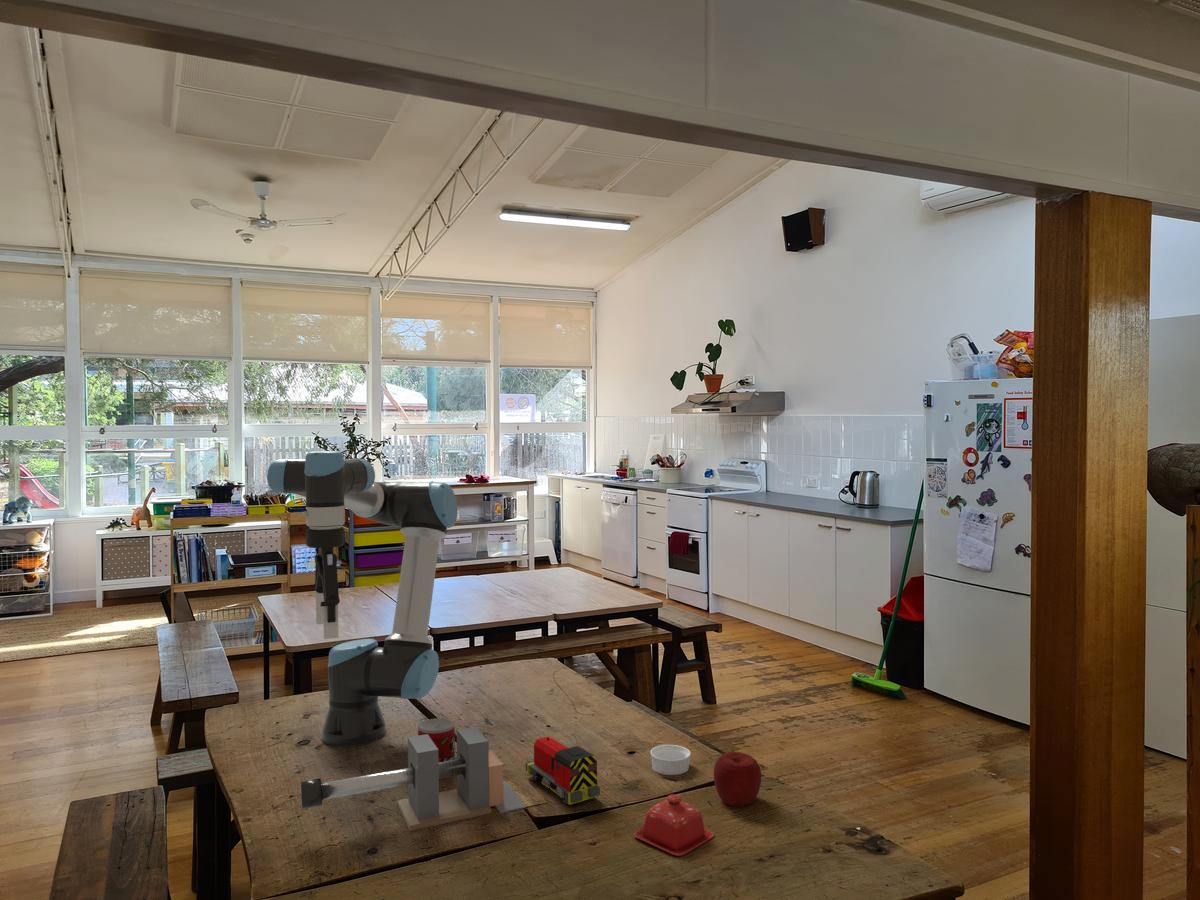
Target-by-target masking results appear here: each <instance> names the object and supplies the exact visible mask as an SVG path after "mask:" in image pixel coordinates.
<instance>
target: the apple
mask: <svg viewBox="0 0 1200 900" xmlns="http://www.w3.org/2000/svg"><path fill="white" fill-rule="evenodd" d="M713 782H714V786H715V790H716V792H717V794H718V796H719V799H721V801H722V803H723V804H725V805H727V806H731V807H739V808H741V807H745V806H749V805H751V804H752V803H753V802H754V801H755V800H756V798H757V797H758V795H759V791H760V788H761V785H762V769H761V766H760V764H759V763H758V761H757V760H756V759H755V758H754V757H752V756H751V755H749V754H747V753H744V752H739V751H728V752H727V751H726V752H724V753H722V754H721V755H720V756H719V757H717V759H716V761H715V764H714V768H713Z"/></svg>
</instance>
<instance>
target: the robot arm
mask: <svg viewBox="0 0 1200 900" xmlns="http://www.w3.org/2000/svg"><path fill="white" fill-rule="evenodd" d="M375 480H376V471H375V469H374V467H373V465H372V464H371V462H369V461H368V460H366V459H363V458H358V457H355V458H352V457H351V458H346V459H345V458H344V454H343V452H342V451H338V450H336V451H335V450H327V451H326V450H322V451H309V452H307V453H306V455H305V458H304V459H301V458H299V459H298V458H296V459H295V458H283V459H281V458H280V459H276V460H274V461H273V462H271V464H270V465H269V467H268V469H267V475H266V481H267V484H268V486H269V489H270V490H271V491H272V492H274V493H276V494H284V495H287V494H291V495H292V494H293V495H299V496H302V497H305V509H306V510H305V511H303V512H302V516H303V517H305V523H306V524H305V525H306V526H307V527H309V528H307V529H306V530H305V545H306V547H308V548H311V549H314V550H315V555H314V563H315V565H314V568H315V573H314V584H313V585H314V586H313V587H314V590H315V620H316V621H315V623H316V624H315V625H323V639H324V640H330V639H339V604H340V601H341V599H340V596H339V595H340V591H339V579H338V568H337V567H338V566H337V565H338V564H337V563H338V556H337V554H336V553H334V548H339V547H343V546H344V545H345V543H346V537H345V536H346V535H345V534H346V531H345V529H346V528H345V527H343V525H345V523H346V514H345V513H346V512H345V511H346V510H345V509H347V510H349V511H352V513H353V514H354V515H355V516H357V517H360V518H362V519H365V520H370V521H372V522H375V523H380V524H383V525H388V526H394V527H400V532H401V534H402V535H403V536H404V539H405V541H404V545H403V553H402V559H401V560H402V561H401V568H400V574H399V575H400V576H399V582H398V588H397V589H398V590H397V597H396V603H395V610H394V617H393V624H392V625H393V626H392V630H391V631H392V632H391V633H390V634H389V635H388V636H387V637H385V639H384V645H383V646H382V647H381V646H379V643H378V640H376V639H375V638H363V639H356V640H350V641H346V642H343V643H340V644H338V645H335V646H334V647H332V648H331V649H330V650H329V653H328V662H327V663H328V664H327V669H328V703H329V704H328V705H329V706H328V710H327V713H326V717H325V720H324V721H323V722H324V723H323V727H322V729H321V730H322V732H321V738H322V742H324V743H325V744H328V745H330V746H335V747H354V746H359V745H360V746H361V745H365V744H368V743H369V744H370V743H373V742H375V741H377V740H379V739H381V738H382V737H383V736H385V734H386V732H387V730H386V728H387V726H386V721H385V718H384V716H383V712H382V710H381V706H380V704H379V697H382V698H383V697H384V698H393V699H394V698H395V699H396V698H397V699H398V698H399V699H403V700H404V699H405V700H409V699H422V698H424V697H426V696H427V695H428V694H429V693H430V692H431V690H432V689H433V687H434V685H435V683H436V680H437V677H438V673H439V670H440V669H439V668H440V661H439V654H438V653H437V651H435V650H434V649H433V642H432V641H431V639H430V638H429V636H428V634H429V633H428V632H429V627H430V626H429V624H430V618H431V608H432V600H433V594H434V588H435V577H436V571H437V570H436V569H437V562H438V554H439V548H440V542H441V540H443V539H444V538H446V536H447V531H448V529H450V528H453V527H454V526H455V524H456V522H457V519H458V504H457V503H458V502H457V498H456V494H455V493H454V490H453V488H452V486H450V485H449V484H448V483H446V482H439V481H438V482H437V481H383V482H382V481H380V482H379V481H378V482H377V481H375Z"/></svg>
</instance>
